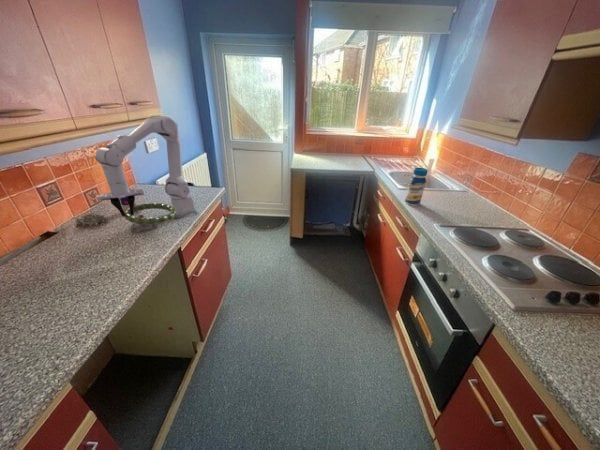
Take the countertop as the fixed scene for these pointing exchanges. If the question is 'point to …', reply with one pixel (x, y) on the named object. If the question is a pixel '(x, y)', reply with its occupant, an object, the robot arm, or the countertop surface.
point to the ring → (150, 220)
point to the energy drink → (125, 203)
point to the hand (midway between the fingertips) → (128, 214)
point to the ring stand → (141, 217)
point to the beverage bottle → (416, 186)
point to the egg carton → (93, 220)
